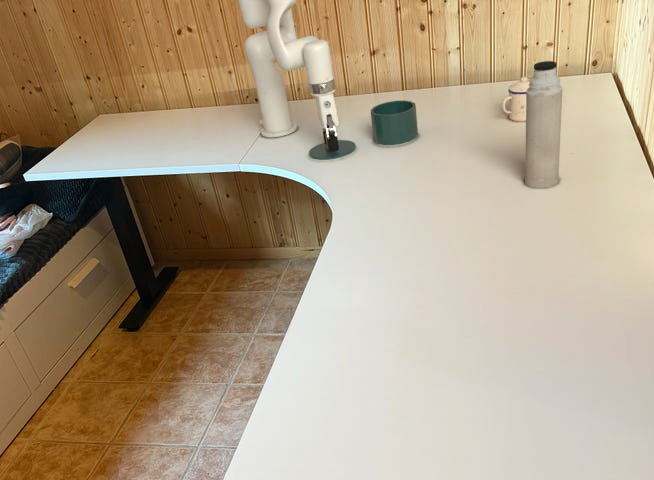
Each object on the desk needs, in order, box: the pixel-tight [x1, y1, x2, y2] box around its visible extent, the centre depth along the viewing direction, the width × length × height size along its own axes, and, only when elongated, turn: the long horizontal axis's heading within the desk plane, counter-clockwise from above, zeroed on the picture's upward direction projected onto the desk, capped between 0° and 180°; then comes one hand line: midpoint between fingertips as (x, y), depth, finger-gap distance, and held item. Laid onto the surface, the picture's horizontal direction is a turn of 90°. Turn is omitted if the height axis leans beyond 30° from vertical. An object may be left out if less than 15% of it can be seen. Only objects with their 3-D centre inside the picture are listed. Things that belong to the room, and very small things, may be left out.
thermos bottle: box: [524, 60, 563, 189], centre depth 158 cm, size 8×8×28 cm
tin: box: [370, 99, 419, 146], centre depth 204 cm, size 14×14×10 cm
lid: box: [308, 131, 357, 161], centre depth 204 cm, size 15×15×6 cm
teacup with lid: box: [501, 76, 530, 122], centre depth 202 cm, size 12×9×12 cm
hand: (331, 146), depth 205 cm, fingers open, 6 cm apart
